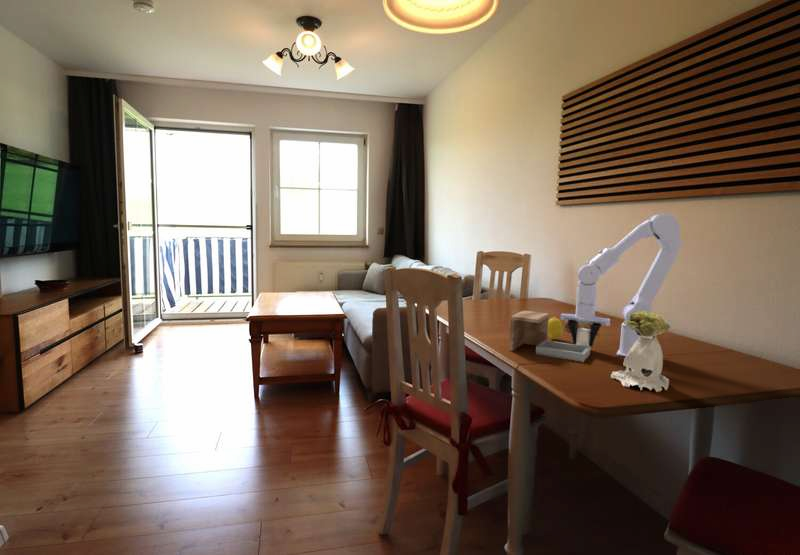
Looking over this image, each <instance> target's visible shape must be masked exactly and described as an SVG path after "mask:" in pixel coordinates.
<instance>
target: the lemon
mask: <svg viewBox="0 0 800 555" xmlns="http://www.w3.org/2000/svg"><path fill="white" fill-rule="evenodd" d="M563 330H564V326H563V322H562V320H561V319H559V318H558V317H557V316H553V317H551V318H549V322H548V336H549V338H550V337H551V339H553V340H555V339H557V338H559V337H561V336H562V334H563Z"/></svg>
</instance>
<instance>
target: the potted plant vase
mask: <svg viewBox="0 0 800 555" xmlns="http://www.w3.org/2000/svg"><path fill="white" fill-rule="evenodd" d="M630 314H631V313H630ZM629 320H630V321H625V320H624V321H623V322H622V323H624V324H626V326H627V327H629V328H630V329H632V330H635V331H636V334H637V335H639V336H640V337H639V339H638V340H637V341H636V342H635V344H634V345H633V346H632V347H631V349H630V351H629V352H628V354H627V355H626V356H625V358H624V360H623V363H622V364H623V366H624V367H626V368H625V370H618V371H615V370H614V371H612V373H611V374H610V378H611V379H616V380H618V381H619V382H621V385H622V386H623V387H628V388H630V386H632V387H634V386H638V388H640V391H642V390H643V388H647V389H649V391H652V390H653V389H654V390H655V392H657V393H659V392H661V391H662V390H663V388H664V390H665V391H667V390H668V389H669V385H670V379H669V378H667V377H666V376H665V375H664V374H662V371H663V366H664V363H663V362H664V355H663V350H662V347H661V344H660V342H659V339H658V338H657V336H658V335H661V334H664V333H666V332H668V330H669V329H670V327H671V326H670V324H669V323H668V322H667V321H665V320H664V319H663V318H661V316H660V315H659V314H657V313H655V312H652V311H650V312H648V311H640V312H635V313H632V314H631V316H630V318H629ZM662 387H663V388H662Z"/></svg>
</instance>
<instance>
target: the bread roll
mask: <svg viewBox="0 0 800 555" xmlns="http://www.w3.org/2000/svg"><path fill="white" fill-rule="evenodd" d="M591 325H592V323H584V322H578V328H584V329H590V330H591ZM578 328H577V329H578ZM563 329H564V330H565V332H568V333H571V331H570V329H569V326H568V320H564V326H563Z"/></svg>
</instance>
